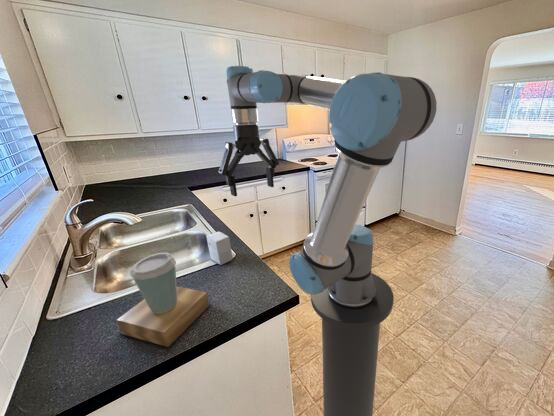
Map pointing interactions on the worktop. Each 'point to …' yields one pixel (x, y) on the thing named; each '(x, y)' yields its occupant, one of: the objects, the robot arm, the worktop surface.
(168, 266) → the disposable coffee cup
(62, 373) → the worktop surface
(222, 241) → the small box
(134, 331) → the maple block
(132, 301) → the worktop surface
